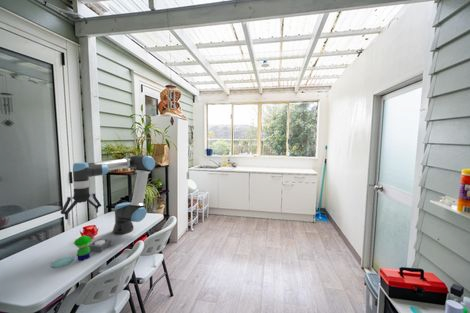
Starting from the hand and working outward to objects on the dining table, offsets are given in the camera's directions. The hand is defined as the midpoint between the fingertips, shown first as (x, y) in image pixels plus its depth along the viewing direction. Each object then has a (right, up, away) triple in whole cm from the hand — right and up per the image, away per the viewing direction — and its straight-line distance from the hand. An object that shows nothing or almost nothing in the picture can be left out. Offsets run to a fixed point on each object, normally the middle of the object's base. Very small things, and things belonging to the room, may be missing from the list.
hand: (82, 221), depth 122 cm
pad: (-10, -25, -2) cm, 27 cm away
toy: (0, -25, +1) cm, 25 cm away
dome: (+1, -22, +14) cm, 27 cm away
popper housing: (+1, -24, +14) cm, 28 cm away
